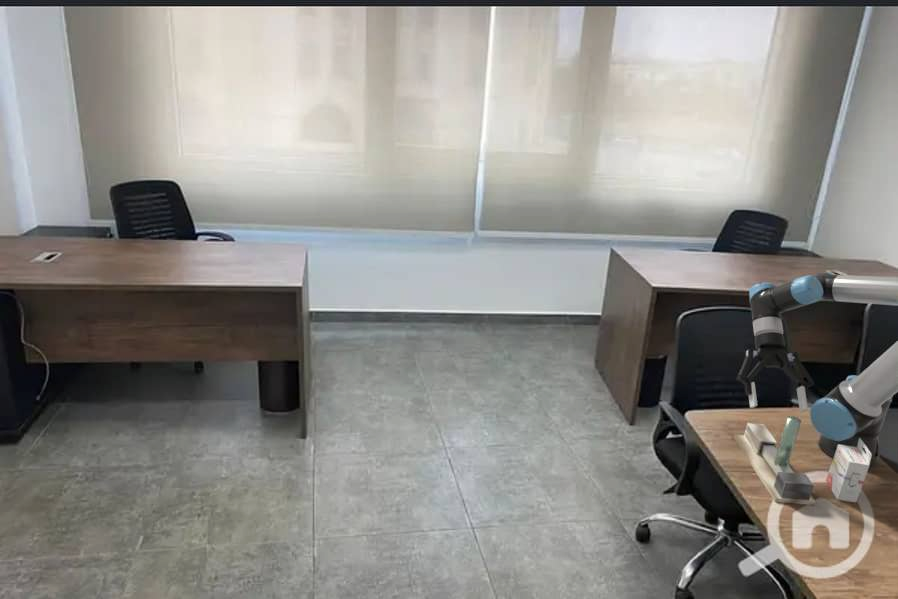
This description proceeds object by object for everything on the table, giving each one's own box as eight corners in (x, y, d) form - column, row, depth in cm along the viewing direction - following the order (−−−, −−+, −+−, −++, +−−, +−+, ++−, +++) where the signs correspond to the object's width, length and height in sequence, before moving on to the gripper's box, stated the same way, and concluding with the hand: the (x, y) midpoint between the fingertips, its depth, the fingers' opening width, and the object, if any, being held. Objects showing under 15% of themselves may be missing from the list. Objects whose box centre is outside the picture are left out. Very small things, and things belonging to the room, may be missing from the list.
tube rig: (767, 440, 189) (771, 424, 187) (814, 505, 162) (820, 486, 160) (733, 437, 190) (737, 420, 188) (774, 501, 162) (780, 483, 160)
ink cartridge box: (824, 480, 173) (840, 433, 167) (844, 483, 172) (860, 436, 167) (836, 500, 165) (853, 451, 159) (857, 503, 164) (874, 455, 159)
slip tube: (768, 449, 181) (783, 399, 176) (799, 493, 163) (817, 439, 157) (757, 448, 181) (771, 398, 176) (787, 491, 163) (804, 437, 157)
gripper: (805, 343, 186) (817, 415, 177) (719, 336, 186) (727, 408, 177) (820, 334, 179) (832, 408, 170) (730, 327, 179) (738, 401, 170)
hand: (778, 408), depth 174 cm, fingers open, 13 cm apart
